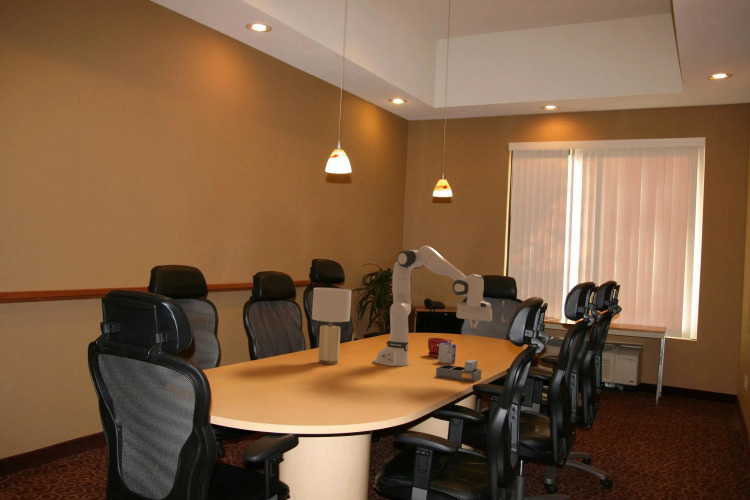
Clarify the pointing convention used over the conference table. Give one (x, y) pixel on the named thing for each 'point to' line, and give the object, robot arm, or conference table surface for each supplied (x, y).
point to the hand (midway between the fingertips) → (473, 327)
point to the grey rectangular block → (471, 366)
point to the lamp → (330, 320)
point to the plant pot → (432, 348)
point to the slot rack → (457, 373)
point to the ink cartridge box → (447, 352)
